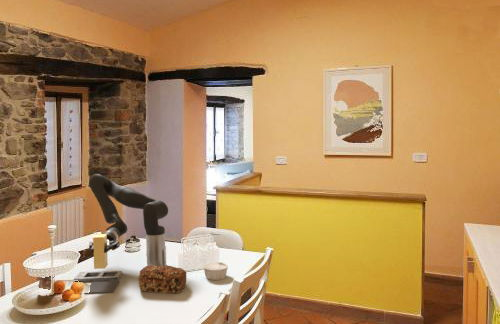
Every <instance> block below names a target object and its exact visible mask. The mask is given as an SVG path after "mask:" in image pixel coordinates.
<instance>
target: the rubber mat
mask: <svg viewBox="0 0 500 324" xmlns="http://www.w3.org/2000/svg"><path fill="white" fill-rule="evenodd" d="M119 284H120V280H118V281H91V283H90V284H89V286H90V292H89V294H90V295H92V294H95V295H96V294H113V293H114V292H115V290H116V289H117V287H118V285H119ZM89 294H88V295H89Z"/></svg>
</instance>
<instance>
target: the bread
mask: <svg viewBox="0 0 500 324" xmlns="http://www.w3.org/2000/svg"><path fill="white" fill-rule="evenodd" d="M186 285H187V271H186V270H185V269H183V268H182V267H176V266H172V265H166V266H153V265H150V266H147V265H146V266H144V267H143V268H142V269H141V270H139V275H138V287H139V290H140V292H141V291H142V292H148V293H149V292H150V293H161V294H169V293H170V294H173V293H174V294H179V293H181V292H182V290H183V289H185V287H186Z"/></svg>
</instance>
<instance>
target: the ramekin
mask: <svg viewBox="0 0 500 324" xmlns="http://www.w3.org/2000/svg"><path fill="white" fill-rule="evenodd" d="M228 268H229V267H228V264H227V263H224V262H218V261H217V262H209V263H206V264H205V265H203V270H204V275H205V278H206V279H208V280H210V281H219V280H223V279H225V278H226V276H227V271H228Z"/></svg>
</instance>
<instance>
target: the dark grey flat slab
mask: <svg viewBox="0 0 500 324" xmlns="http://www.w3.org/2000/svg"><path fill="white" fill-rule="evenodd" d="M123 272H124V271H123V270H107V271H106V270H105V271H104V270H100V271H99V270H98V271H80V272H78V274H77V275H76V276H75V277H74V278H73V281H74V280H78V281H84V283H85V282H86V283H87V282H89V283H90V282H110V281H120V278H121V277H122V275H123Z"/></svg>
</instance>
